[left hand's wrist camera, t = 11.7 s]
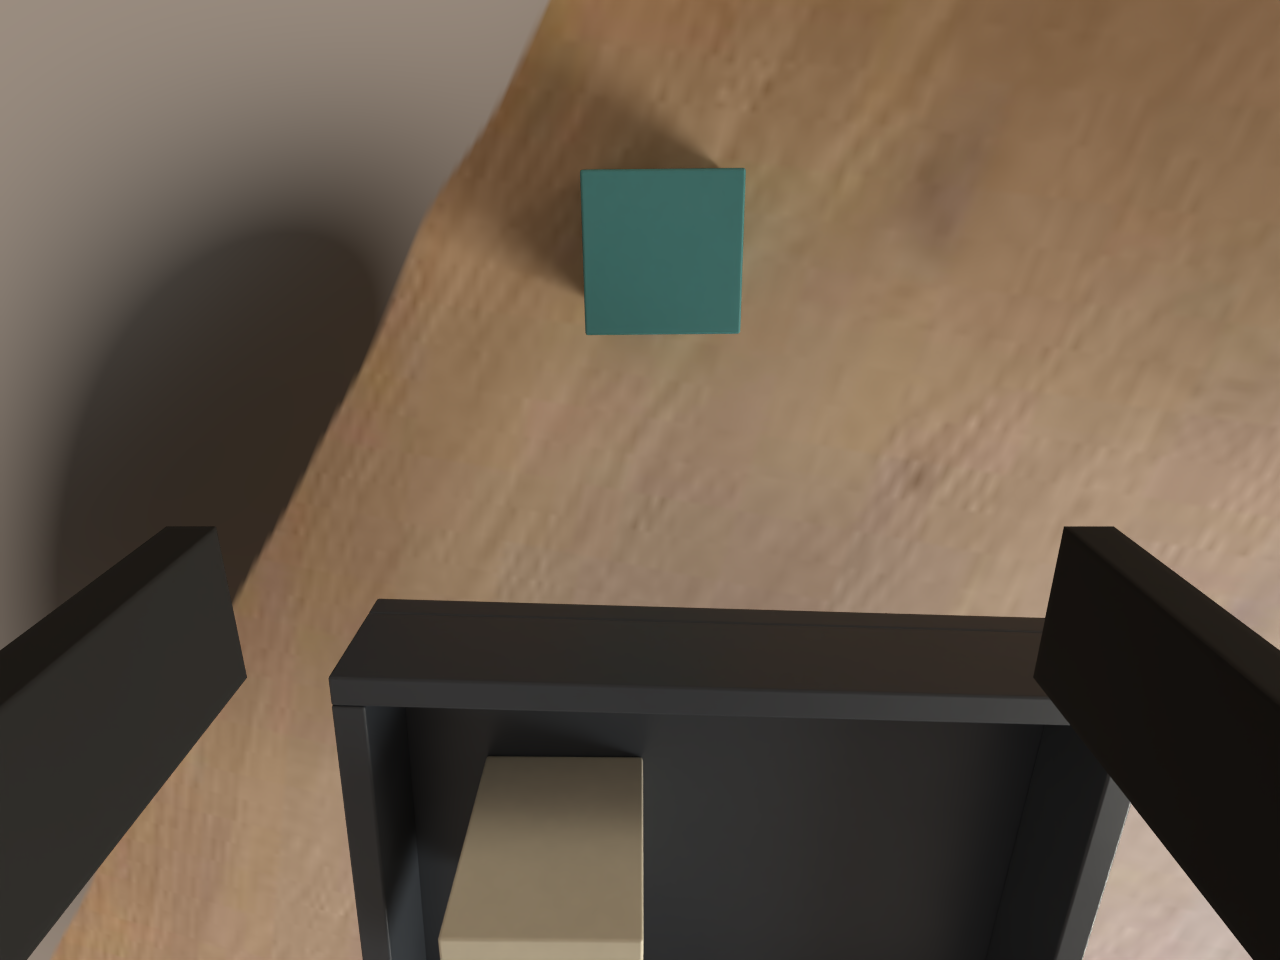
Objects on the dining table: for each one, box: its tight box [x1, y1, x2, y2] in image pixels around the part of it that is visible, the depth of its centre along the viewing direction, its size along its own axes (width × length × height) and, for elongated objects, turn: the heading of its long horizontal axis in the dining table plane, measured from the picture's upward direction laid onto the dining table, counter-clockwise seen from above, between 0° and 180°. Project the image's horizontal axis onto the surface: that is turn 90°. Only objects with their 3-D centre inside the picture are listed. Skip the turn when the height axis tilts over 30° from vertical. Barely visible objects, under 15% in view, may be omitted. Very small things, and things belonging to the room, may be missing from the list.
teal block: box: [580, 168, 746, 335], centre depth 25 cm, size 4×4×6 cm
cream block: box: [438, 756, 643, 960], centre depth 21 cm, size 4×4×6 cm
